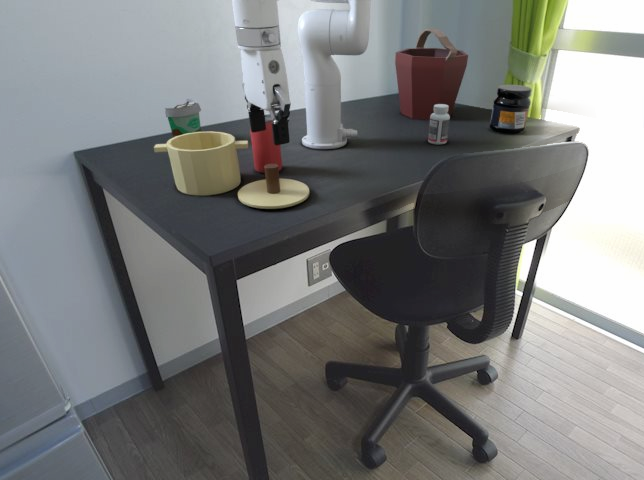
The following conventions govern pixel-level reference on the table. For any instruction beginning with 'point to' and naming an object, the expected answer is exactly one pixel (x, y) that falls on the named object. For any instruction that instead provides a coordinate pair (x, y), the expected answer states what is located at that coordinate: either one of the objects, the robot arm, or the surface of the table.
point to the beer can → (265, 148)
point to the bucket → (429, 76)
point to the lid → (273, 191)
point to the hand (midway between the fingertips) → (269, 137)
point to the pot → (204, 162)
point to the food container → (184, 118)
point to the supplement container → (510, 109)
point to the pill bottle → (439, 125)
